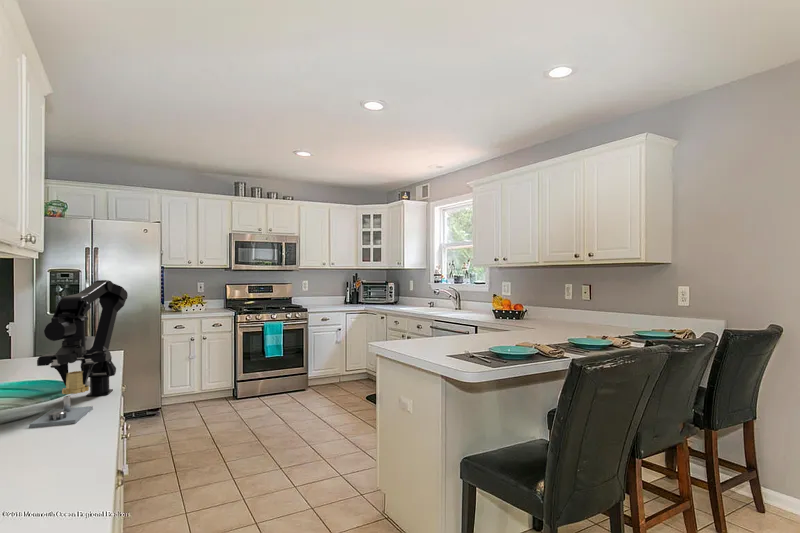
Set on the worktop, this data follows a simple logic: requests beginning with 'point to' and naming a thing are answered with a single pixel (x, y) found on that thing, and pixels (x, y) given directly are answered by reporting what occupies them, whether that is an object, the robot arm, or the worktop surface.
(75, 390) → the planet gear
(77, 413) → the plate
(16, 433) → the worktop surface
